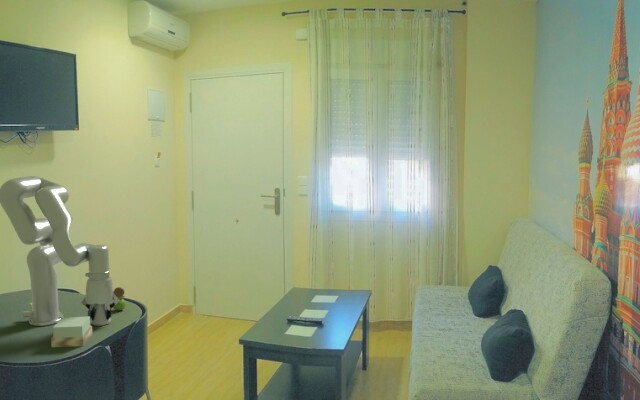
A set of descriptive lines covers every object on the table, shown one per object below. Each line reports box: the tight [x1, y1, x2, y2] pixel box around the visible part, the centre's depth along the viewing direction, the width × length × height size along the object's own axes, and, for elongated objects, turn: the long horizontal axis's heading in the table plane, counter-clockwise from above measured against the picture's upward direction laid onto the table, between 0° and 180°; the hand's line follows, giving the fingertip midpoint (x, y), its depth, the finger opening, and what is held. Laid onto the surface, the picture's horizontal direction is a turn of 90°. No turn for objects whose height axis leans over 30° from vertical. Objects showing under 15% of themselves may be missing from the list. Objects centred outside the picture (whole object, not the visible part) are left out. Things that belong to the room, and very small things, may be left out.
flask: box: [90, 304, 112, 327], centre depth 213 cm, size 7×7×10 cm
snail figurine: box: [112, 286, 126, 312], centre depth 228 cm, size 5×6×12 cm
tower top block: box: [52, 315, 91, 338], centre depth 195 cm, size 10×10×4 cm
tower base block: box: [50, 325, 93, 348], centre depth 196 cm, size 11×11×4 cm
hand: (101, 318), depth 213 cm, fingers closed on flask, 5 cm apart
